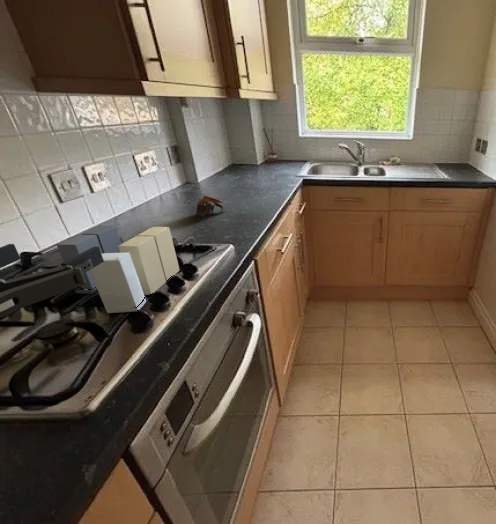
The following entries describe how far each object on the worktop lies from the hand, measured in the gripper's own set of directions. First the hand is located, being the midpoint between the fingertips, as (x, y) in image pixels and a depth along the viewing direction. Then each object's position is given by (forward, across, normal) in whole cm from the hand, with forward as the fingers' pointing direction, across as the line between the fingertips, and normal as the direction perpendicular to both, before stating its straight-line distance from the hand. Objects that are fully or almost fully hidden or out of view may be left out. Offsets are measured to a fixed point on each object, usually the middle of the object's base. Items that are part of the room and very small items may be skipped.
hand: (57, 252), depth 54 cm
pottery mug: (+77, -11, -18) cm, 79 cm away
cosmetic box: (+10, 0, -17) cm, 20 cm away
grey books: (+21, -13, -17) cm, 30 cm away
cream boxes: (+21, 0, -17) cm, 27 cm away
